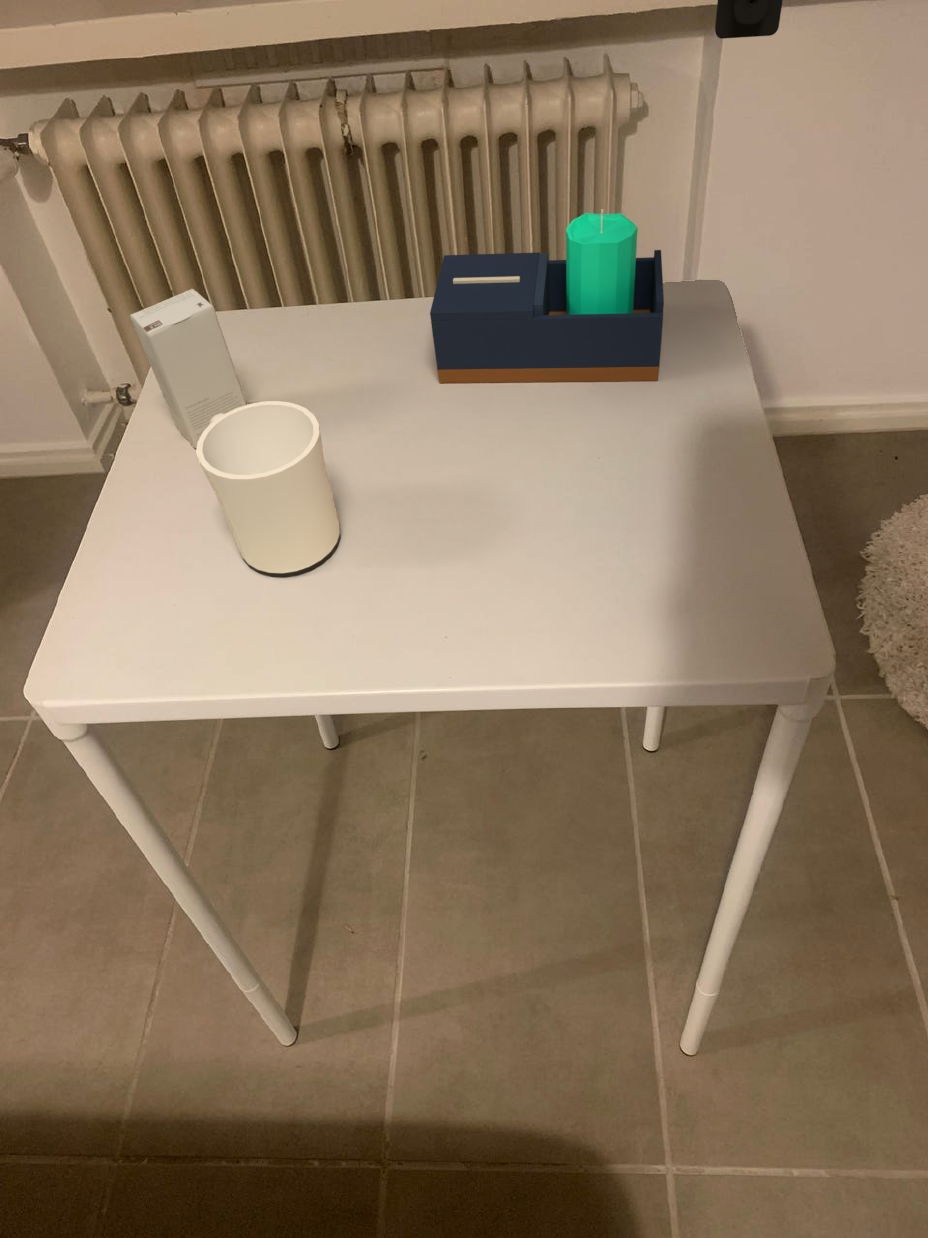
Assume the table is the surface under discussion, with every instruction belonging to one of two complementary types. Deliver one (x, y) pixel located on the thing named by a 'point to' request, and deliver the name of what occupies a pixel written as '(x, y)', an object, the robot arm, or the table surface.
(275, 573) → the mug
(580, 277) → the candle
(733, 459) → the table surface
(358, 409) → the table surface
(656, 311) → the navy slotted box
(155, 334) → the cosmetic box
